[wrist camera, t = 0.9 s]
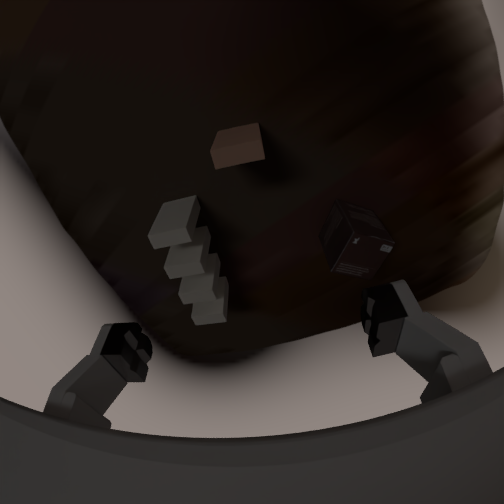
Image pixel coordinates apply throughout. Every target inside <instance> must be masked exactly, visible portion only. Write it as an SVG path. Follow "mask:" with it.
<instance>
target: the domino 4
mask: <svg viewBox="0 0 504 504" xmlns="http://www.w3.org/2000/svg"><path fill="white" fill-rule="evenodd" d="M228 291H229V284H228V281H227V278H226V276H224V277H219V281H218V291H217V300H211V301H203V302H196V303H194V304H193V310H192V316H191V318H192V319H193V321H194V323H195V324H196V325H202V324H211V323H220V322H227V307H228Z"/></svg>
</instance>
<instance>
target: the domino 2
mask: <svg viewBox="0 0 504 504" xmlns="http://www.w3.org/2000/svg"><path fill="white" fill-rule="evenodd" d="M210 240H211V235H210V233H209V230H208V227H207V226H203V227H198V228H195V230H194V234H193V238H192V242H187V243H182V244H177V245H172V246H171V247H170V250H169V253H168V256H167V259H166V262H165V265H164V269H165V271H166V273H167V275H168V277H169V278H170V279H173V278H179V277H185V276H191V275H197V274H203V273H205V270H206V264H207V258H208V252H209V246H210Z"/></svg>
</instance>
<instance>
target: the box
mask: <svg viewBox="0 0 504 504" xmlns="http://www.w3.org/2000/svg"><path fill="white" fill-rule="evenodd" d="M319 238H320V241H321V244H322V247H323V250H324V253H325V255H326V258H327V261H328V264H329V267H330V270H331V272H334V273H338V274H343V275H348V276H353V277H358V278H362V279H367V280H371V279H372V278H373V276H374V275H375V273H376V272H377V270H378V269H379V267H380V266H381V264H382V263H383V261H384V260H385V258H386V257H387V255H388V254H389V252H390V251H391V249H392V248H393V246H394V244H395V242H394V241H393V240H392V238H391V236H390V235H389V233H388V232H387V230H386V229H385V227H384V226H383V224H382V223H381V222H380V220H379V219H378V217H377V216H376V214H375V213H374V211H372V210H369V209H366V208H363V207H360V206H357V205H354V204H351V203H348V202H345V201H341V200H338V199H336V201H335V203H334V205H333V207H332V209H331V211H330V214H329V216H328V218H327V220H326V222H325V224H324V226H323V228H322V230H321V232H320V234H319Z"/></svg>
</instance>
